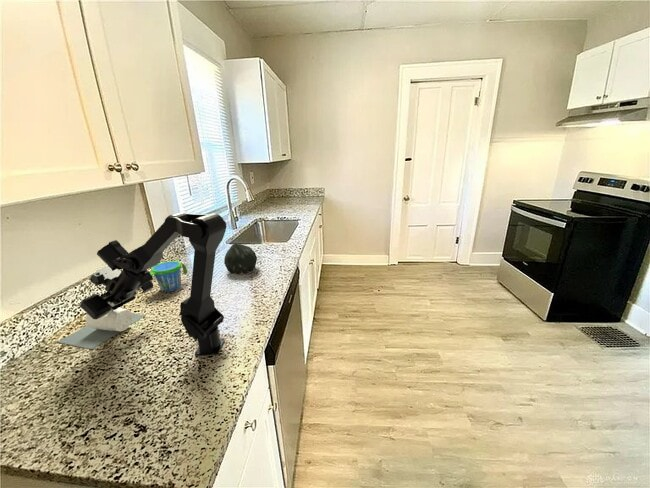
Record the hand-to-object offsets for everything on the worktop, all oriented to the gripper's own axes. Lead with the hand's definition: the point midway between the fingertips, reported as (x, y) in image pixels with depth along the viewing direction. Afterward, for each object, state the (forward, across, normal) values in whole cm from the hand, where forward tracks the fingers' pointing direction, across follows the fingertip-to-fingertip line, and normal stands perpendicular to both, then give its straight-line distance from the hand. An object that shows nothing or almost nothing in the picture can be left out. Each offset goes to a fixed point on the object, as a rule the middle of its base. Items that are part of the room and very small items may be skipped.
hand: (110, 309), depth 87 cm
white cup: (0, -1, +5) cm, 5 cm away
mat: (+9, 0, +2) cm, 9 cm away
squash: (-5, -51, +16) cm, 53 cm away
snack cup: (+10, -29, +2) cm, 30 cm away
